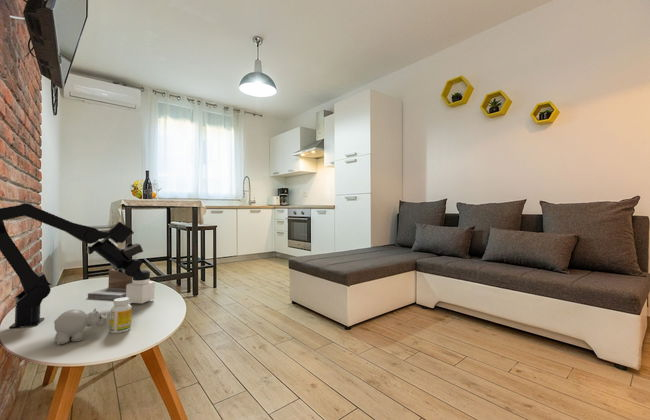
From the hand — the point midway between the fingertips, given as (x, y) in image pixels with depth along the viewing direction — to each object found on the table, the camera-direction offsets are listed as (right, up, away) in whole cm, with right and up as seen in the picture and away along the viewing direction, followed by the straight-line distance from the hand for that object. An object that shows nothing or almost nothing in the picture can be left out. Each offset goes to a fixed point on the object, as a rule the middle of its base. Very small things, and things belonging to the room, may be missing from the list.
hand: (142, 277), depth 119 cm
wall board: (-17, -10, +8) cm, 21 cm away
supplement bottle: (+11, -10, -28) cm, 32 cm away
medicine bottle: (0, -9, -1) cm, 9 cm away
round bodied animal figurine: (+4, -10, -34) cm, 36 cm away
